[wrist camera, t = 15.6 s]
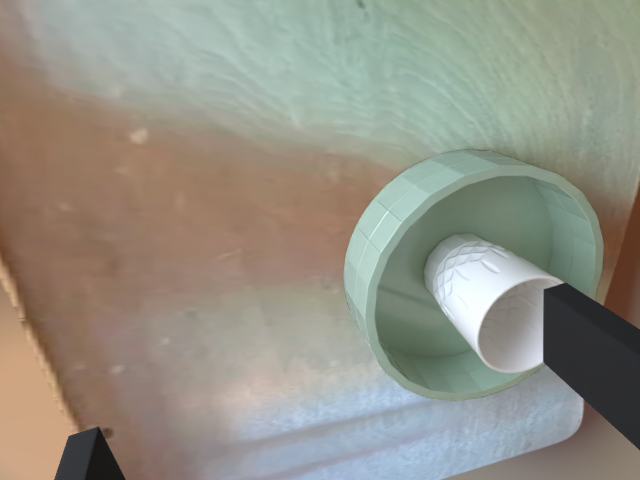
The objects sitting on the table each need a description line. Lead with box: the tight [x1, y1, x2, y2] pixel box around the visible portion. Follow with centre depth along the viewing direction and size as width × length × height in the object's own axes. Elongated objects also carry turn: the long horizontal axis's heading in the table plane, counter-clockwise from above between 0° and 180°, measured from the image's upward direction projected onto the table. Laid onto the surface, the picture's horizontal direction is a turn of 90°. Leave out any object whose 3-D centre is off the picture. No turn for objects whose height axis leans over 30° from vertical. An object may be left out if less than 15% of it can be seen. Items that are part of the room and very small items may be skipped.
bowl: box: [344, 149, 604, 401], centre depth 40 cm, size 21×21×6 cm
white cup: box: [423, 233, 565, 373], centre depth 38 cm, size 8×8×10 cm
